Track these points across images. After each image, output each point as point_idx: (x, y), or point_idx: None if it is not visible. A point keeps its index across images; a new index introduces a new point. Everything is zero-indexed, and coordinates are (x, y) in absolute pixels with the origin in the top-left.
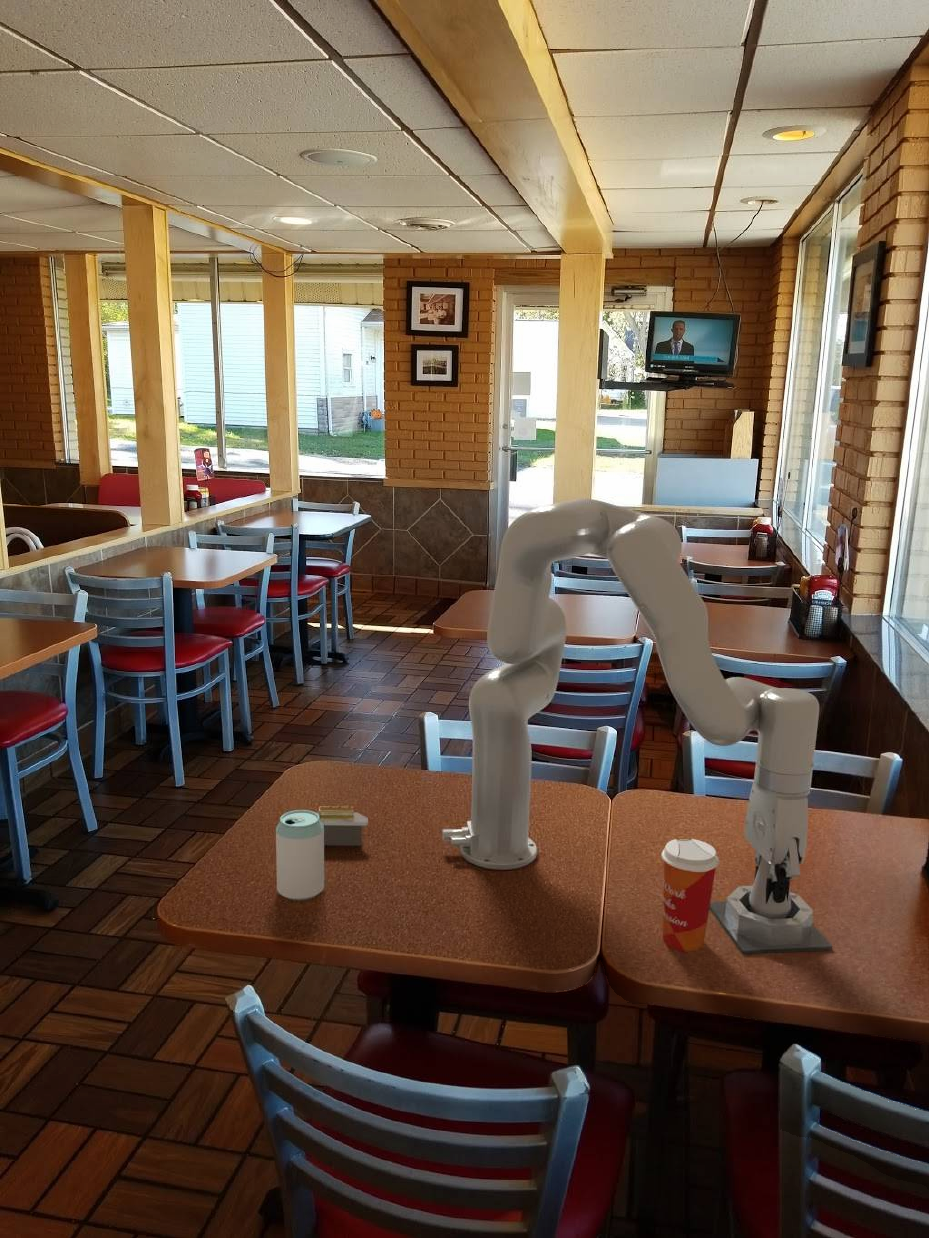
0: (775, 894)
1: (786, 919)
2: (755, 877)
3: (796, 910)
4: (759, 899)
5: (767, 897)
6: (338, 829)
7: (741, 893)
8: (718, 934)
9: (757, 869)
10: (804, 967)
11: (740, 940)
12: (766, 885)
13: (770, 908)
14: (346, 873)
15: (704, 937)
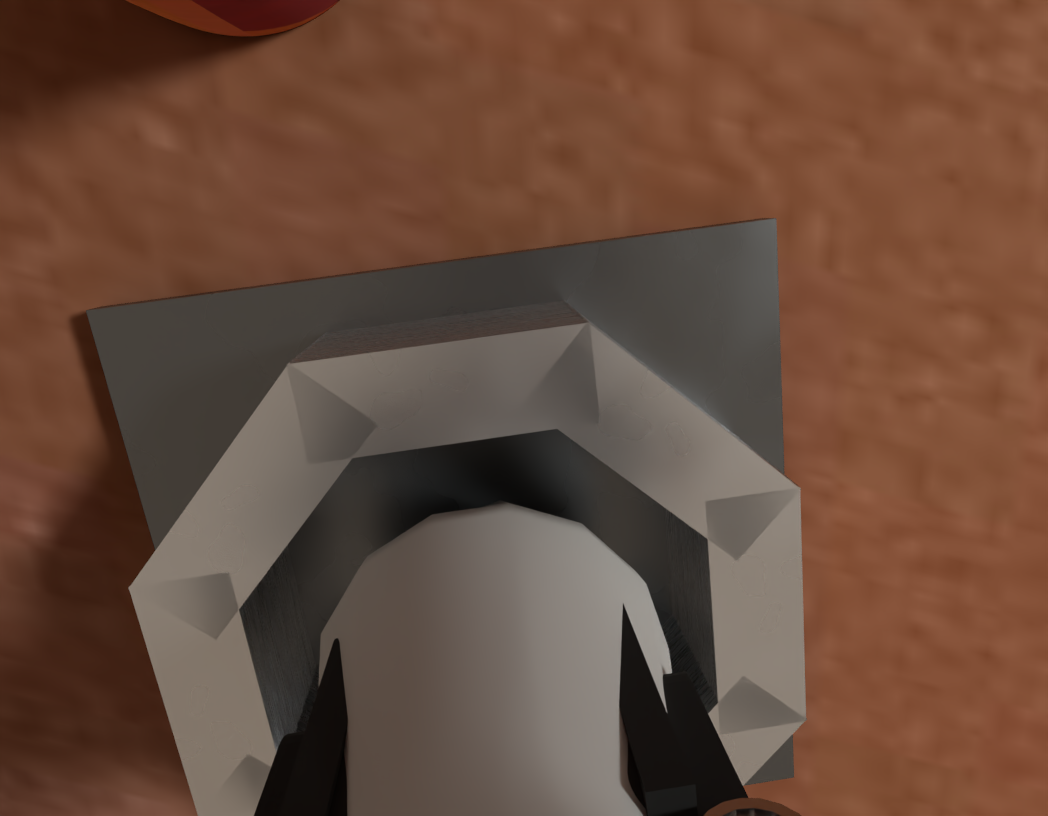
0: (262, 791)
1: (252, 724)
2: (598, 683)
3: None
4: (383, 601)
5: (322, 688)
6: None
7: (669, 477)
8: (364, 199)
9: (640, 772)
10: (26, 656)
11: (231, 329)
12: (327, 766)
13: (321, 653)
14: None
15: (143, 8)
